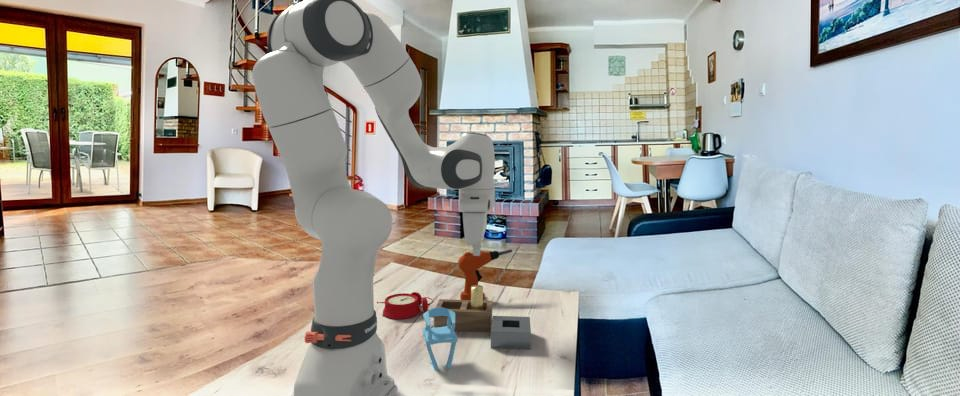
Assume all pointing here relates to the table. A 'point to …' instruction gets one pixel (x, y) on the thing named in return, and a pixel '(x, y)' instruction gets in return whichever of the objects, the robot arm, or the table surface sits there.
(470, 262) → the toy drill
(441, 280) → the table surface
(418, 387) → the table surface
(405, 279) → the table surface
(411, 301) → the alarm clock
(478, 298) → the gold rounded rod
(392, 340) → the table surface
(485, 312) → the box
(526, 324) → the socket block
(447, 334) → the chair
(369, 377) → the robot arm
